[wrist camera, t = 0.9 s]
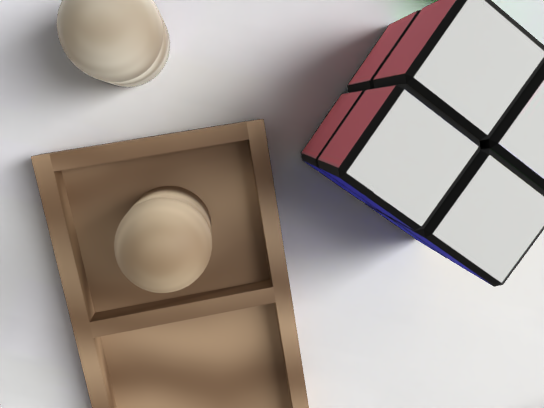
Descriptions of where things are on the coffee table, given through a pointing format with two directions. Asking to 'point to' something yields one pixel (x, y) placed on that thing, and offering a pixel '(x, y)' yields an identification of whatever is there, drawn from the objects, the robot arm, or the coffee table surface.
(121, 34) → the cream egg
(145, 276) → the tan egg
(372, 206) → the puzzle cube
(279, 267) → the wooden compartment tray
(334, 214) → the coffee table surface
